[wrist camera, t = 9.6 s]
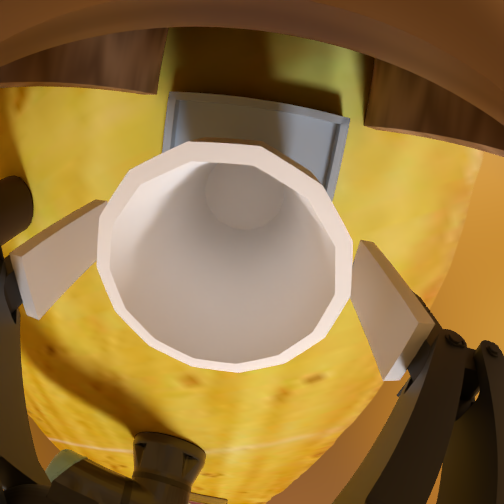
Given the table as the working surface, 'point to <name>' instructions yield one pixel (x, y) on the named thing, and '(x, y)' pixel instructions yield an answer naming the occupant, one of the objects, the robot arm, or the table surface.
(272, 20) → the wood grain box
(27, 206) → the bottle
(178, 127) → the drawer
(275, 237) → the foam cup
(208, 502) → the hardcover book
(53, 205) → the table surface
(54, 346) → the table surface
